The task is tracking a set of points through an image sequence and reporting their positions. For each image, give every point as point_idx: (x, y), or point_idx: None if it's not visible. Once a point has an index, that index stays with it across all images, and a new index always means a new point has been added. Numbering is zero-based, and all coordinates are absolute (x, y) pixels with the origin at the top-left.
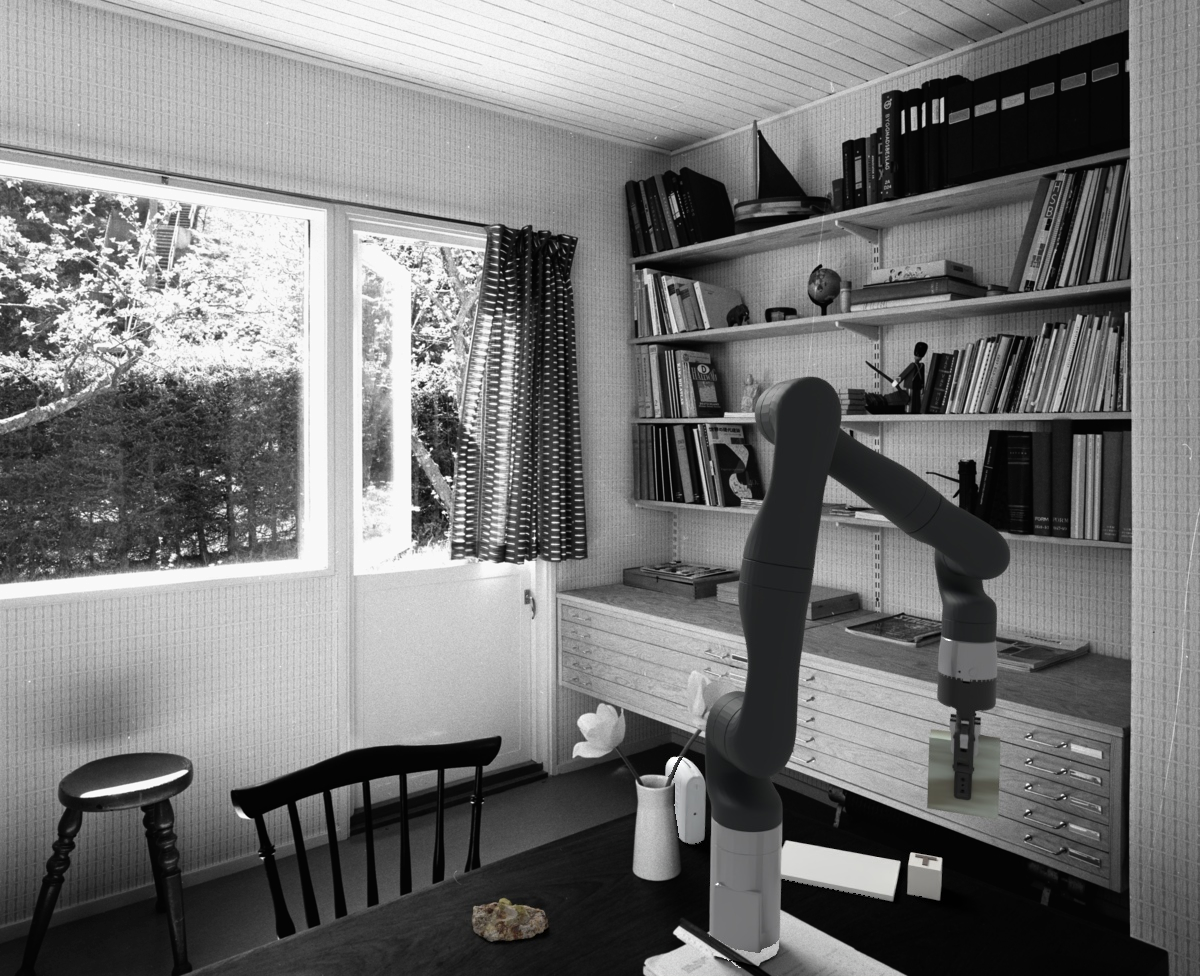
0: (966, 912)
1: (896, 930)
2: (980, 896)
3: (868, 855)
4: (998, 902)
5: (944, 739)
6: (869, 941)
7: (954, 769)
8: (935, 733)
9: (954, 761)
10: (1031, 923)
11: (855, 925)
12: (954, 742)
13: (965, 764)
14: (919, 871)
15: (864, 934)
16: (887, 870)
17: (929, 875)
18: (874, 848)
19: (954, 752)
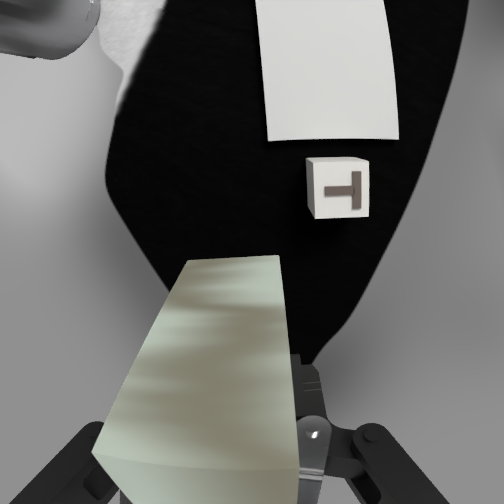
0: (287, 245)
1: (182, 162)
2: (346, 258)
3: (395, 88)
4: (337, 281)
5: (125, 494)
6: (135, 136)
7: (85, 429)
8: (202, 483)
9: (64, 450)
10: (295, 319)
11: (166, 107)
12: (13, 501)
13: (101, 466)
14: (312, 181)
15: (149, 125)
16: (356, 121)
17: (312, 198)
18: (435, 98)
19: (39, 474)
